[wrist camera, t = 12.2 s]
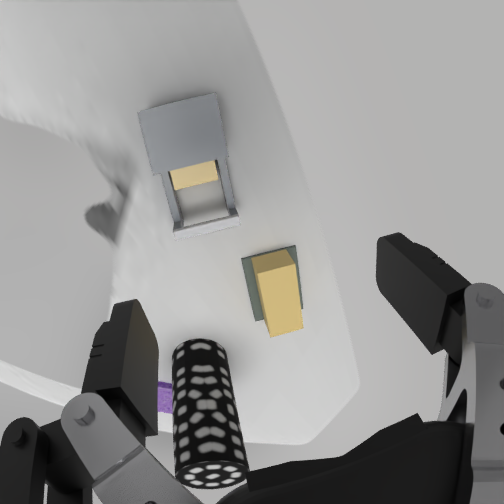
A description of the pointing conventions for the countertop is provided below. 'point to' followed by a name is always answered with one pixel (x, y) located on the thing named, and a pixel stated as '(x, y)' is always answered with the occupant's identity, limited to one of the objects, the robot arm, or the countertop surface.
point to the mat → (253, 285)
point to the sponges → (165, 397)
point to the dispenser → (188, 155)
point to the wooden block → (278, 292)
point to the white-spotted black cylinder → (205, 418)
